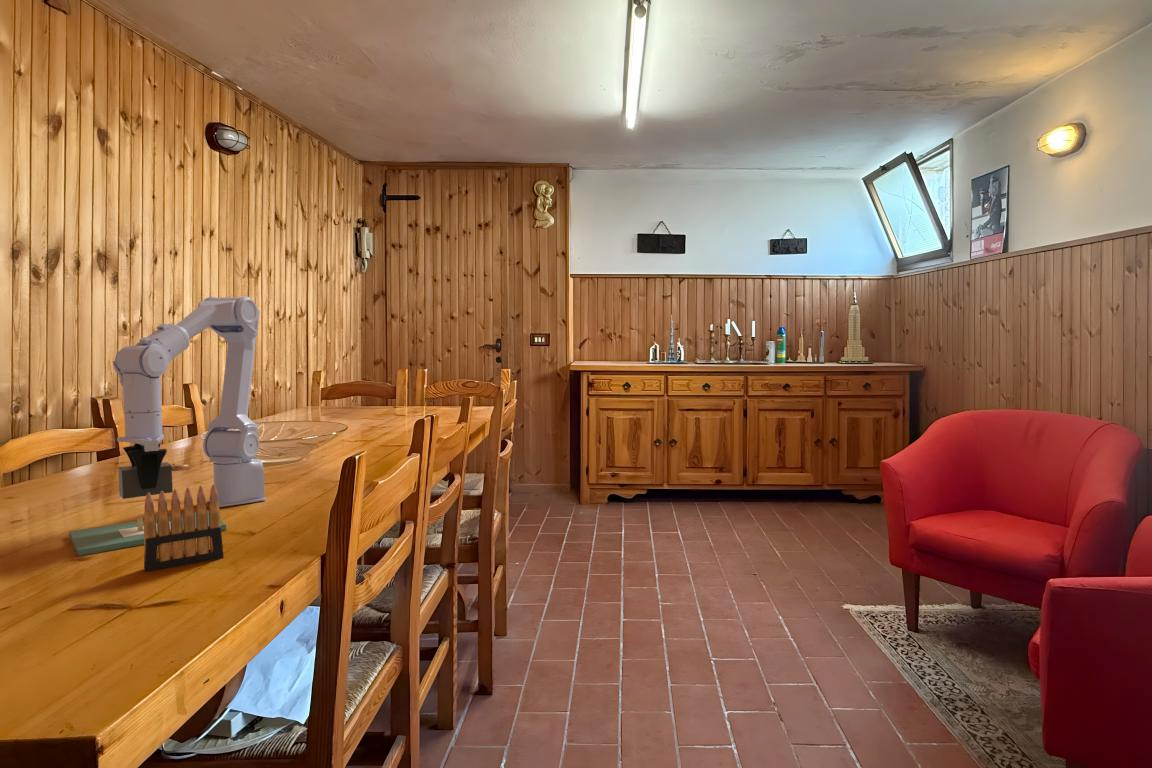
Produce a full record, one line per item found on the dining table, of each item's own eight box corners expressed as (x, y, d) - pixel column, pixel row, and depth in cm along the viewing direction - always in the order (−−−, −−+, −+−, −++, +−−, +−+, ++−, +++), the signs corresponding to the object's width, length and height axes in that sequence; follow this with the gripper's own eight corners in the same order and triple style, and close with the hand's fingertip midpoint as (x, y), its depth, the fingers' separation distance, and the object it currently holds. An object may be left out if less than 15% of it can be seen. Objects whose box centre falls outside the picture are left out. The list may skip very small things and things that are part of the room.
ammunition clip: (145, 572, 101) (141, 494, 100) (144, 568, 103) (140, 492, 102) (223, 558, 108) (221, 484, 107) (221, 555, 109) (218, 482, 108)
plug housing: (187, 485, 128) (186, 460, 127) (192, 489, 124) (191, 463, 124) (119, 494, 121) (118, 467, 120) (123, 498, 117) (121, 470, 117)
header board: (207, 514, 133) (206, 497, 133) (226, 529, 123) (225, 511, 123) (69, 536, 119) (68, 517, 119) (78, 556, 108) (77, 534, 108)
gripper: (110, 410, 123) (114, 482, 124) (122, 416, 112) (126, 496, 113) (155, 407, 128) (158, 477, 129) (170, 413, 117) (173, 489, 118)
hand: (146, 485), depth 121 cm, fingers closed on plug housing, 4 cm apart
